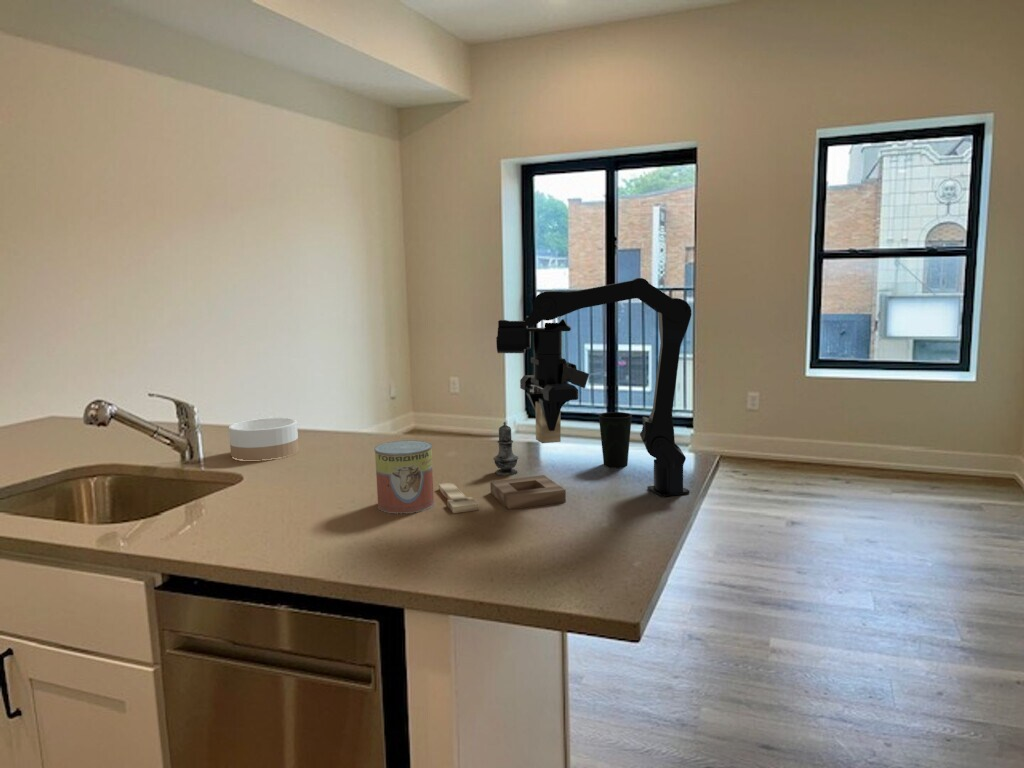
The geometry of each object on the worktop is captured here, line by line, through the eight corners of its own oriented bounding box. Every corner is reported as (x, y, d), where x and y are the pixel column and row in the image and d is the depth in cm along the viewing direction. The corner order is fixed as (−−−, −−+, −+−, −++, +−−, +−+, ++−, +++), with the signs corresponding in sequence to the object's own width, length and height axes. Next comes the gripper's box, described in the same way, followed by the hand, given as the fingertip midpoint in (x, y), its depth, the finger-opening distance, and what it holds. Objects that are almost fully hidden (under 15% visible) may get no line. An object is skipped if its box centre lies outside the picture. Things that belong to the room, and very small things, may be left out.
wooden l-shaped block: (478, 509, 141) (478, 504, 140) (453, 513, 139) (453, 507, 139) (456, 487, 157) (456, 481, 156) (434, 489, 155) (434, 484, 155)
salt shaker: (516, 476, 164) (514, 424, 162) (490, 475, 165) (489, 424, 163) (521, 469, 170) (519, 419, 168) (496, 469, 171) (495, 419, 169)
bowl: (216, 460, 188) (213, 429, 186) (257, 445, 204) (255, 416, 203) (273, 463, 183) (271, 431, 181) (311, 448, 199) (309, 418, 198)
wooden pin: (560, 441, 148) (560, 403, 147) (542, 443, 147) (542, 404, 146) (553, 437, 152) (553, 400, 151) (535, 439, 151) (535, 401, 150)
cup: (631, 460, 175) (630, 411, 173) (633, 468, 167) (632, 417, 166) (598, 460, 176) (598, 412, 174) (599, 468, 168) (599, 418, 167)
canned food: (380, 516, 138) (377, 455, 137) (375, 500, 149) (372, 443, 147) (438, 510, 141) (436, 450, 140) (429, 494, 152) (427, 438, 150)
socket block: (565, 501, 144) (565, 489, 144) (508, 509, 140) (508, 496, 140) (544, 486, 155) (543, 474, 155) (490, 492, 152) (490, 481, 151)
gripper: (603, 356, 141) (602, 434, 143) (567, 347, 158) (567, 417, 161) (549, 358, 137) (549, 439, 140) (519, 349, 155) (519, 421, 157)
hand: (548, 428), depth 149 cm, fingers closed on wooden pin, 4 cm apart
